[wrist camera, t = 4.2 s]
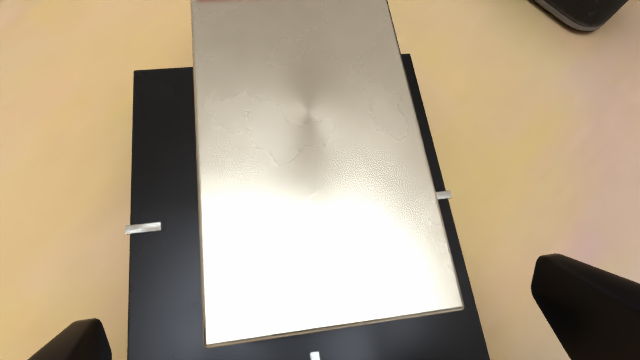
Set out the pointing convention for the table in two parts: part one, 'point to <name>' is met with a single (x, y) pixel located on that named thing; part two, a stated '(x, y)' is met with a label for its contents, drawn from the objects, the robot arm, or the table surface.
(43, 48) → the table surface
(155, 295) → the dial plate
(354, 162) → the brushed aluminum block
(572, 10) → the electronic device
